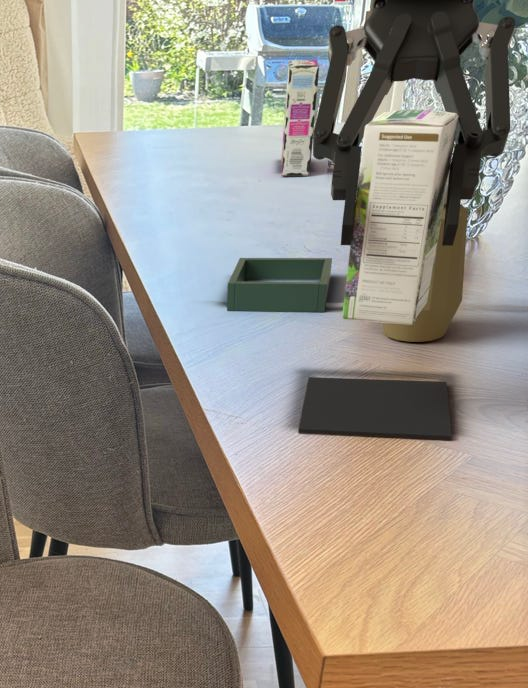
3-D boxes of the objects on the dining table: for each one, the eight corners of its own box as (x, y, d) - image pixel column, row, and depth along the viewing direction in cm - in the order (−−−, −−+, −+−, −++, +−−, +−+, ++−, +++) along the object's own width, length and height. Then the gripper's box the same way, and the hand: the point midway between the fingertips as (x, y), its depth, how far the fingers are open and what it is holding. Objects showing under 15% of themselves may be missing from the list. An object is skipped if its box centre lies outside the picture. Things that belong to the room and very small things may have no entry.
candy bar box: (311, 176, 167) (320, 64, 157) (281, 177, 168) (288, 66, 158) (309, 163, 176) (317, 57, 166) (280, 165, 177) (287, 59, 167)
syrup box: (358, 300, 84) (379, 108, 76) (430, 305, 82) (460, 108, 73) (340, 321, 80) (361, 121, 72) (416, 327, 78) (446, 121, 69)
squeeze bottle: (355, 337, 101) (377, 141, 90) (399, 317, 105) (425, 128, 94) (428, 353, 95) (460, 148, 85) (471, 331, 100) (506, 133, 89)
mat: (445, 385, 89) (446, 381, 88) (451, 440, 79) (452, 436, 79) (308, 381, 92) (308, 376, 92) (298, 433, 82) (298, 428, 82)
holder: (329, 284, 116) (332, 258, 114) (324, 312, 108) (327, 284, 106) (238, 283, 119) (239, 257, 117) (226, 310, 111) (227, 283, 109)
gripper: (551, -5, 78) (528, 263, 75) (298, 10, 84) (266, 261, 80) (577, -88, 71) (552, 204, 68) (298, -66, 76) (263, 206, 73)
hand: (397, 235), depth 74 cm, fingers closed on syrup box, 7 cm apart
